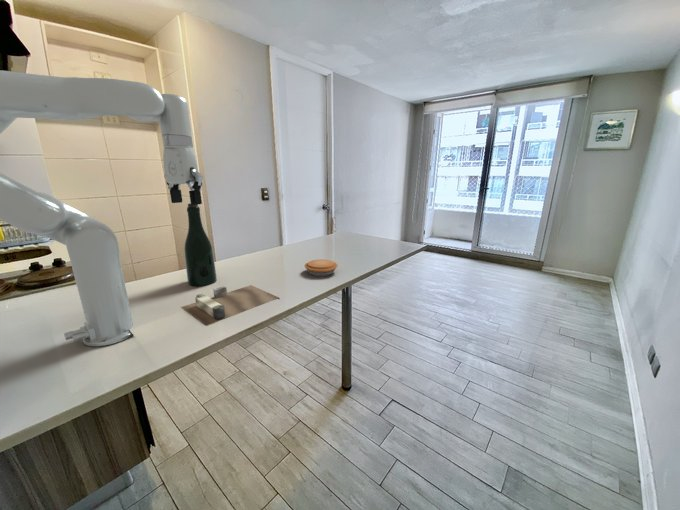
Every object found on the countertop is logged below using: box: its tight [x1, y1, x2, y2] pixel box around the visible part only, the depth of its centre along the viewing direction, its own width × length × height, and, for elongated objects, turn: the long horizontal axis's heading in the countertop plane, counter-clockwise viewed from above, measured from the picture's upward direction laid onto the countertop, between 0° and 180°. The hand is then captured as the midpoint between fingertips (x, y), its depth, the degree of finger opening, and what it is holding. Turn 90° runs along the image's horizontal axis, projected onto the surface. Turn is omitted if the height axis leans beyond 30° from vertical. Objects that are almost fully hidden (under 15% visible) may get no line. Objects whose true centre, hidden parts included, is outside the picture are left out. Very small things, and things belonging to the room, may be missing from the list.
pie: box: [304, 259, 339, 277], centre depth 130 cm, size 16×16×5 cm
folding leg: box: [194, 293, 225, 319], centre depth 88 cm, size 15×3×3 cm, turn 50°
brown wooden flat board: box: [180, 284, 280, 327], centre depth 95 cm, size 26×18×4 cm
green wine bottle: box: [183, 202, 218, 288], centre depth 109 cm, size 10×10×33 cm
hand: (186, 203), depth 85 cm, fingers open, 9 cm apart
